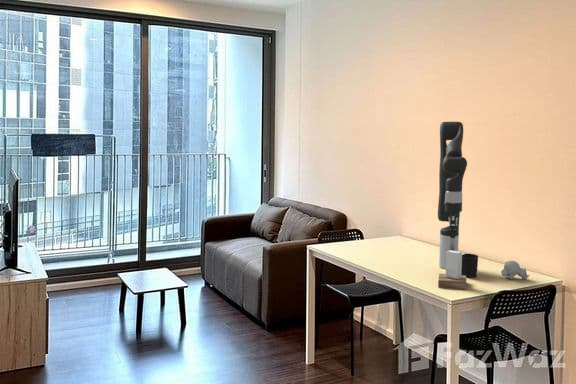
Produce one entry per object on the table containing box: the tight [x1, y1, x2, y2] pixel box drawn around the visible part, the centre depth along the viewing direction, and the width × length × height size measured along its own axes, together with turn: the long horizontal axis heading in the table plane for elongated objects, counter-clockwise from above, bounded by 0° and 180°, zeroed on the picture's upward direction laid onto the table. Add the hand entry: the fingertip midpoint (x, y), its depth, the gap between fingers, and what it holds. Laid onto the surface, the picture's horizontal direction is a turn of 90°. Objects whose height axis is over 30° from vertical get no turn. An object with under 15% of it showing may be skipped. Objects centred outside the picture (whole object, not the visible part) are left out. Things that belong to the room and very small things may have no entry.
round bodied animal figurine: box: [500, 260, 530, 281], centre depth 253 cm, size 7×12×8 cm, turn 70°
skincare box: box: [445, 250, 463, 279], centre depth 243 cm, size 6×4×12 cm
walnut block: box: [437, 273, 467, 291], centre depth 244 cm, size 12×12×4 cm
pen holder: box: [461, 253, 479, 279], centre depth 259 cm, size 9×9×10 cm
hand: (452, 236), depth 242 cm, fingers open, 8 cm apart
